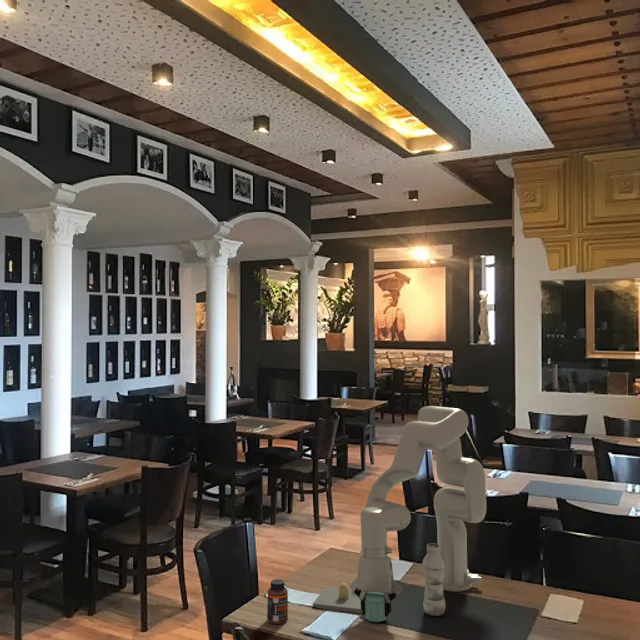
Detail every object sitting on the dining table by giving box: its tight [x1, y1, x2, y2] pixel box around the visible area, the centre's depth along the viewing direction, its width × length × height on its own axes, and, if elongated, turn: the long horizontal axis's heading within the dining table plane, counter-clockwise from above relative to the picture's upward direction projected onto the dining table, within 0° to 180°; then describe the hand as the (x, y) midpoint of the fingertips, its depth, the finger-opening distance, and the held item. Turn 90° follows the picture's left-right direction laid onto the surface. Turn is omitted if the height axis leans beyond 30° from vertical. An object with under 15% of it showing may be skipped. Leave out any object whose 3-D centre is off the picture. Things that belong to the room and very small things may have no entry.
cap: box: [365, 592, 388, 623], centre depth 185 cm, size 6×6×6 cm
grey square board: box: [312, 582, 367, 614], centre depth 197 cm, size 16×13×6 cm
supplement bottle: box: [266, 578, 289, 626], centre depth 185 cm, size 6×6×11 cm
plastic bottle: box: [422, 543, 447, 617], centre depth 188 cm, size 6×7×20 cm
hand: (376, 613), depth 185 cm, fingers closed on cap, 6 cm apart
